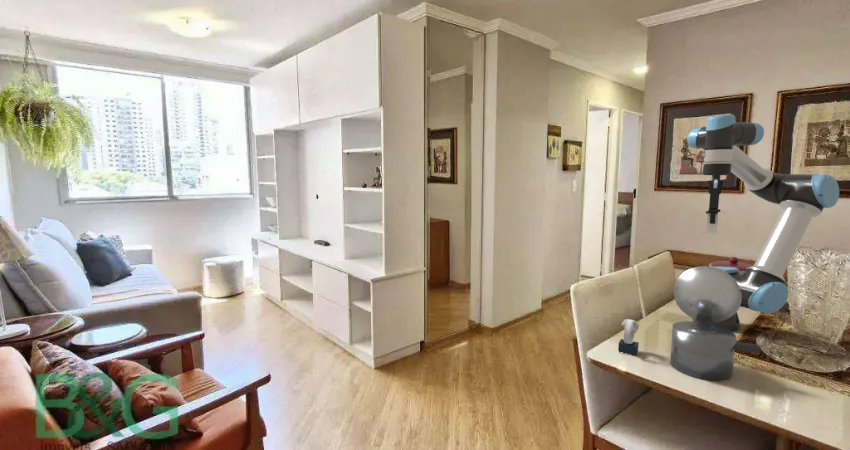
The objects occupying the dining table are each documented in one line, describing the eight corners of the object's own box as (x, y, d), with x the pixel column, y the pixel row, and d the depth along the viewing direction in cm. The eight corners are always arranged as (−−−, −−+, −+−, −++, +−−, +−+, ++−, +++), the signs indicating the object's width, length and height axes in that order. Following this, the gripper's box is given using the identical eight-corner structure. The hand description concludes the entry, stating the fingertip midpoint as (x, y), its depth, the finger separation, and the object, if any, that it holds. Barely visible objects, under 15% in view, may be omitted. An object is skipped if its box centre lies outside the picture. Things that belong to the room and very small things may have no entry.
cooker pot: (672, 350, 137) (675, 316, 136) (754, 368, 125) (757, 330, 123) (667, 371, 123) (670, 333, 122) (758, 393, 111) (762, 351, 109)
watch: (638, 349, 139) (640, 318, 137) (635, 358, 132) (637, 325, 131) (621, 345, 142) (622, 315, 141) (616, 353, 135) (618, 322, 134)
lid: (671, 316, 136) (672, 315, 138) (739, 328, 126) (738, 326, 128) (675, 263, 136) (676, 262, 138) (744, 270, 125) (743, 269, 128)
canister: (723, 293, 200) (726, 252, 198) (764, 304, 184) (769, 259, 181) (697, 298, 194) (700, 254, 191) (737, 309, 177) (742, 262, 175)
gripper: (704, 163, 144) (699, 228, 147) (702, 162, 128) (697, 234, 131) (730, 163, 140) (725, 229, 143) (732, 162, 124) (725, 236, 127)
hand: (711, 231), depth 137 cm, fingers open, 6 cm apart
